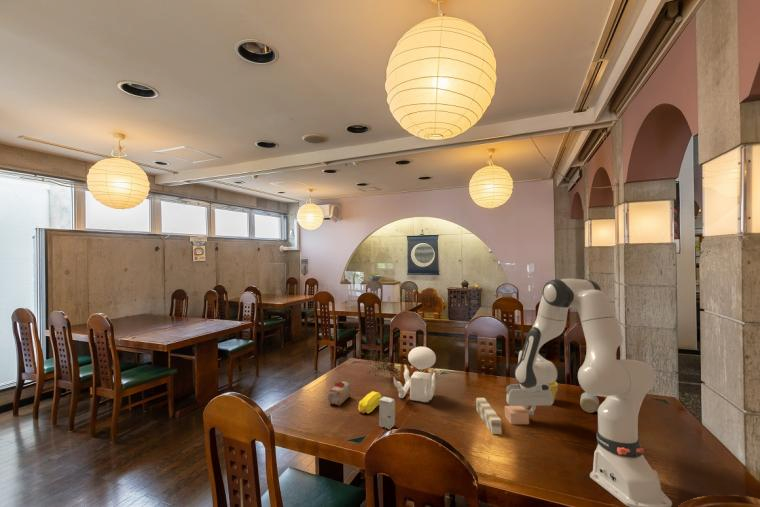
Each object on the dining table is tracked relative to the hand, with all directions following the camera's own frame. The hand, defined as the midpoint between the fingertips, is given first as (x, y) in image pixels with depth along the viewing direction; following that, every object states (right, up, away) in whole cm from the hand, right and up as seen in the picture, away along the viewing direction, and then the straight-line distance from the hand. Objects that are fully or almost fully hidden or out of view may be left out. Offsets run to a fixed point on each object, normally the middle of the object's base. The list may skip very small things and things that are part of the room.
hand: (529, 414), depth 160 cm
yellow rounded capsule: (-73, -5, +17) cm, 75 cm away
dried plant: (-76, -5, +60) cm, 97 cm away
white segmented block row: (-19, -3, 0) cm, 19 cm away
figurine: (-48, -4, +28) cm, 56 cm away
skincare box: (-65, -4, -3) cm, 65 cm away
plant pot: (+18, -3, +21) cm, 28 cm away
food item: (-90, -5, +26) cm, 94 cm away
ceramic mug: (+34, -3, +9) cm, 35 cm away
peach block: (-6, -3, +1) cm, 6 cm away
